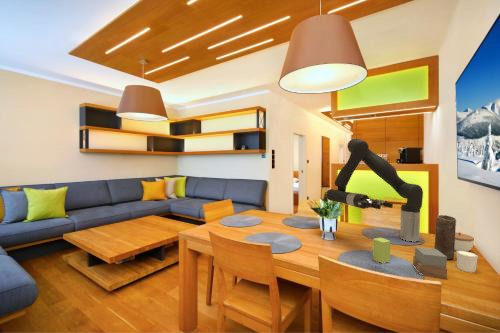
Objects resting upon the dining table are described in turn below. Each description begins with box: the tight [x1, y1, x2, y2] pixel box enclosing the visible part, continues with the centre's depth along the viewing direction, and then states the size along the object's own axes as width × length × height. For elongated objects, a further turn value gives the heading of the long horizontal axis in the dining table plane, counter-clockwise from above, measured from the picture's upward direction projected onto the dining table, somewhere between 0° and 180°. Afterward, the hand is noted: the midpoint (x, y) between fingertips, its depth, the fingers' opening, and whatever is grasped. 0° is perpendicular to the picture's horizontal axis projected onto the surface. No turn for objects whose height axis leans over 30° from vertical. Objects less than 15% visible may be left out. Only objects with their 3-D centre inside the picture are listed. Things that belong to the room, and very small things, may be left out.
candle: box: [433, 214, 457, 260], centre depth 109 cm, size 8×7×20 cm
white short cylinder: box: [455, 251, 479, 273], centre depth 98 cm, size 7×7×7 cm
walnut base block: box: [412, 255, 448, 280], centre depth 95 cm, size 9×9×4 cm
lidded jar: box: [454, 231, 475, 252], centre depth 118 cm, size 11×11×9 cm
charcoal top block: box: [414, 246, 448, 268], centre depth 95 cm, size 8×8×4 cm
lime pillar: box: [372, 237, 391, 264], centre depth 105 cm, size 5×5×10 cm
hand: (386, 206), depth 107 cm, fingers open, 8 cm apart
